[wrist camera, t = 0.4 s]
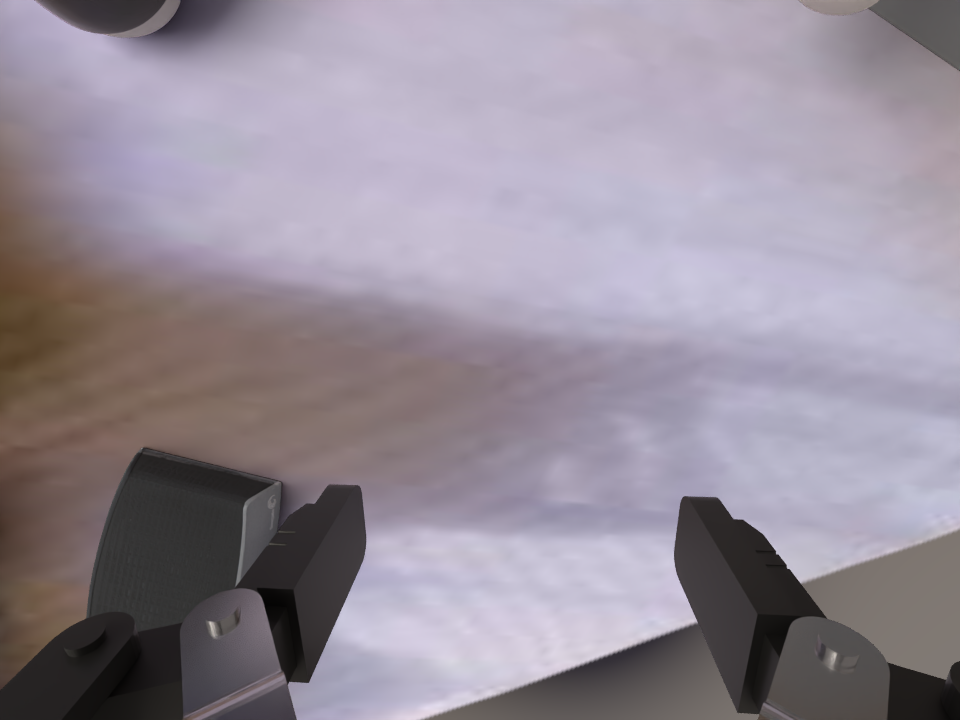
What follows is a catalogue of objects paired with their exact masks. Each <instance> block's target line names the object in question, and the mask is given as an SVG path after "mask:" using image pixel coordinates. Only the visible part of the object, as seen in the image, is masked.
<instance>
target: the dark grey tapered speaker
mask: <svg viewBox="0 0 960 720" xmlns="http://www.w3.org/2000/svg"><path fill="white" fill-rule="evenodd" d="M35 1H36V2H37V3H38V4H40V5H41V6H42V7H43V8H45V9H46V10H48V11H49V12H50V13H52V14H53V15H55V16H56V17H58V18H59V19H61V20H63V21H64V22H66V23H68V24H70V25H71V26H74V27H76V28H78V29H81V30H84V31H87V32H92V33H98V34H104V35H108V36H114V37H121V38H134V37H141V36H145V35H148V34H151V33H153V32H155V31H157V30H159V29H160V28H162V27H163V26H164V25H166V24H167V23H168V22H169V21H170V20H171V18H172V17H173V16H174V14H175V13H176V11H177V9H178V7H179V5H180V2H181V0H35Z"/></svg>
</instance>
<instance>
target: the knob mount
mask: <svg viewBox="0 0 960 720" xmlns="http://www.w3.org/2000/svg"><path fill="white" fill-rule="evenodd" d="M869 9H870V10H872V11H873V12H875V13H876V14H878V15H879V16H881V17H882V18H884V19H885V20H886V21H888V22H889V23H891V24H892V25H894V26H895V27H897V28H898V29H900V30H901V31H902V32H904V33H905V34H907V35H908V36H910V37H911V38H913V39H914V40H916V41H917V42H919V43H920V44H921V45H923V46H924V47H926V48H927V49H929V50H930V51H932V52H933V53H935V54H936V55H938V56H939V57H940V58H942V59H943V60H945V61H946V62H948V63H949V64H951V65H952V66H954V67H955V68H956V69H958V70H959V71H960V0H879V1H878V2H877V3H876V4H874V5H873V6H871V7H869Z"/></svg>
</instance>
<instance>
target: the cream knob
mask: <svg viewBox="0 0 960 720" xmlns="http://www.w3.org/2000/svg"><path fill="white" fill-rule="evenodd" d="M799 1H800V2H801V3H802V4H803V5H804V6H806V7H808V8H809V9H811V10H813V11H815V12H818V13H822V14H826V15H838V16H840V15H849V14H854V13H857V12H860V11H863V10H865V9H867V8H869V7H871V6H873V5H874V4H876V3H877V2H878V1H879V0H799Z"/></svg>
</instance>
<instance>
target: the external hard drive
mask: <svg viewBox="0 0 960 720" xmlns="http://www.w3.org/2000/svg"><path fill="white" fill-rule="evenodd" d="M280 501H281V482H279V481H276V480H272V479H268V478H264V477H260V476H255V475H252V474H247V473H243V472H240V471H236V470H232V469H227V468H224V467H220V466H216V465H211V464H208V463H203V462H199V461H195V460H191V459H187V458H183V457H179V456H175V455H171V454H166V453H162V452H159V451H154V450H150V449H147V448H141V449H140V450H139V451H138V453H137V454H136V455H135V456H134V458H133V459H132V461H131V462H130V464H129V466H128V468H127V469H126V471H125V473H124V475H123V478H122V480H121V482H120V484H119V486H118V489H117V491H116V494H115V496H114V499H113V501H112V504H111V507H110V510H109V513H108V516H107V519H106V522H105V526H104V529H103V532H102V536H101V539H100V543H99V547H98V551H97V555H96V559H95V563H94V568H93V573H92V578H91V584H90V590H89V597H88V606H87V617H86V619H87V618H89V617H92V616H95V615H98V614H102V613H107V612H124V613H128V614H129V615H131V616H132V617H133V618H134V621H135V625H136V628H137V632H140V631H144V630H149V629H154V628H159V627H164V626H168V625H173V624H178V623H182V622H183V621H184V619H185V618H186V617H187V615H188V614H189V613H190V612H191V611H192V610H193V609H194V608H195V607H196V606H197V605H198V604H200V603H201V602H203V601H204V600H206V599H207V598H209V597H211V596H213V595H215V594H218V593H220V592H223V591H226V590H231V589H234V588H235V587H236V586H237V584H238V583H239V582H240V580H241V579H242V578H243V576H244V575H245V574H246V572H247V571H248V570H249V568H250V567H251V566H252V565H253V563H254V562H255V561H256V559H257V558H258V557H259V555H260V554H261V553H262V551H263V550H264V549H265V547H266V546H269V542H270V541H271V539H272V538H273V537H274V535H275V534H276V533H277V530H278V521H279V513H280Z"/></svg>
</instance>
